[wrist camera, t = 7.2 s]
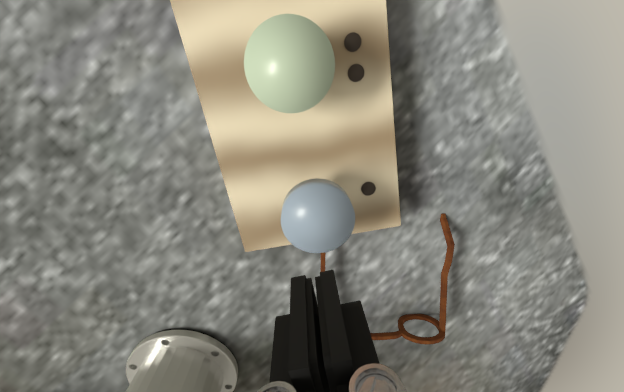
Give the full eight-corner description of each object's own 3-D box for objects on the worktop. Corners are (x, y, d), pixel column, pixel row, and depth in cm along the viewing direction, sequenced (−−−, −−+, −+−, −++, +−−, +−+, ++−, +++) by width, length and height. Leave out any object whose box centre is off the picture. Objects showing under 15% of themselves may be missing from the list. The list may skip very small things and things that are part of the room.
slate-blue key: (355, 235, 23) (359, 246, 21) (289, 247, 23) (288, 258, 21) (346, 172, 21) (350, 179, 19) (275, 185, 21) (273, 193, 19)
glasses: (318, 319, 34) (321, 357, 29) (315, 217, 29) (318, 243, 24) (431, 312, 34) (452, 349, 29) (445, 210, 29) (473, 235, 24)
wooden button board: (391, 211, 28) (405, 232, 24) (250, 235, 29) (242, 260, 25) (359, -189, 18) (376, -266, 14) (143, -144, 19) (100, -205, 15)
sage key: (337, 103, 19) (340, 105, 18) (259, 117, 19) (256, 120, 18) (325, 12, 17) (327, 5, 16) (239, 28, 17) (233, 23, 16)
